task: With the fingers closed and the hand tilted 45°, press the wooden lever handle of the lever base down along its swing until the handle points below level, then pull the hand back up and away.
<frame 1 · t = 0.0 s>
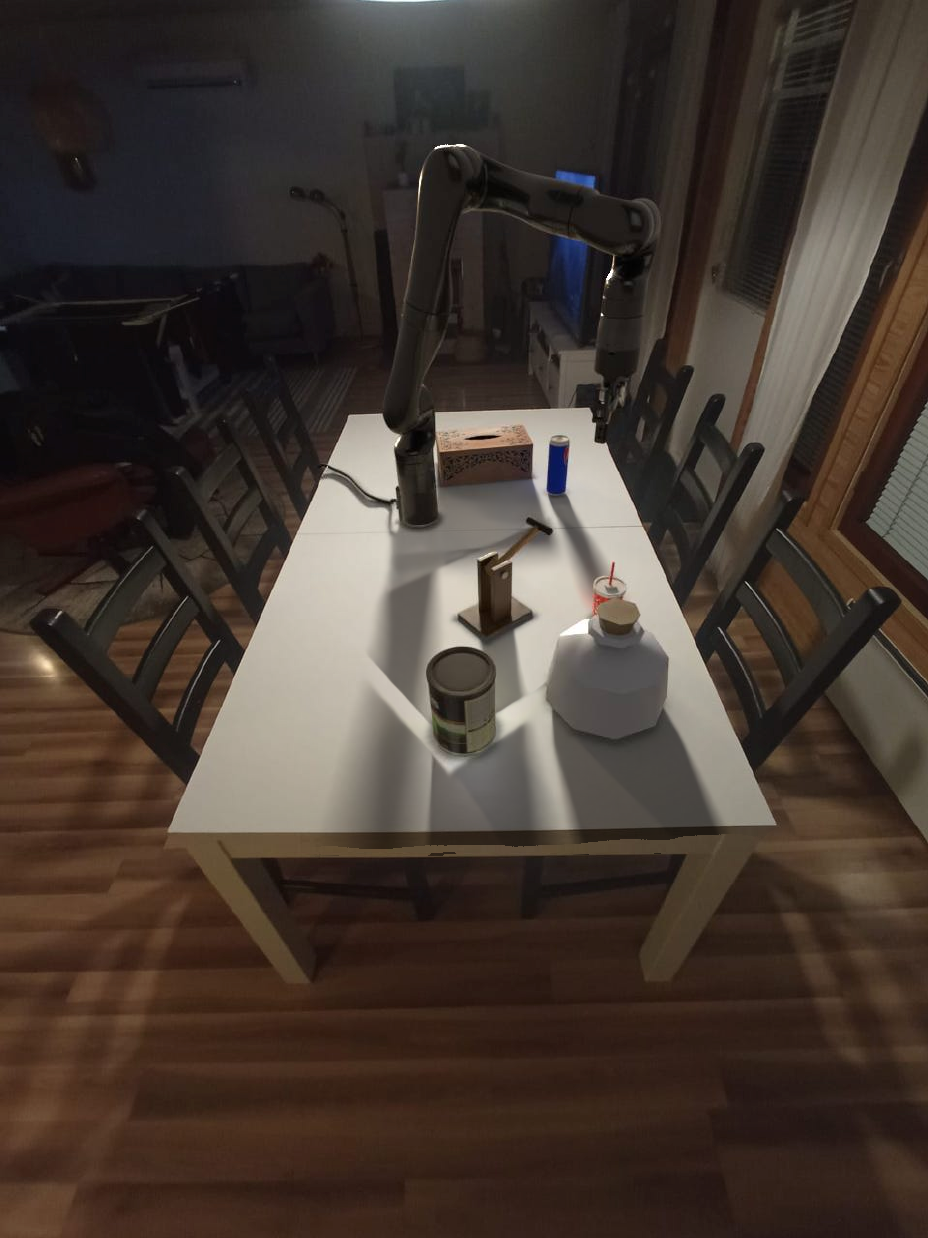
hand: (607, 434, 107), 29 cm above the table, tool pointing down, fingers open, 8 cm apart
beverage can: (555, 492, 152), on the table
tissue box cover: (483, 471, 164), on the table
beverage cup: (604, 622, 110), on the table
bottle: (604, 697, 95), on the table
lever base: (495, 617, 112), on the table
coffee can: (464, 731, 91), on the table
wooden lever handle: (515, 548, 105), point 14 cm above the table, hinge at 24.0°
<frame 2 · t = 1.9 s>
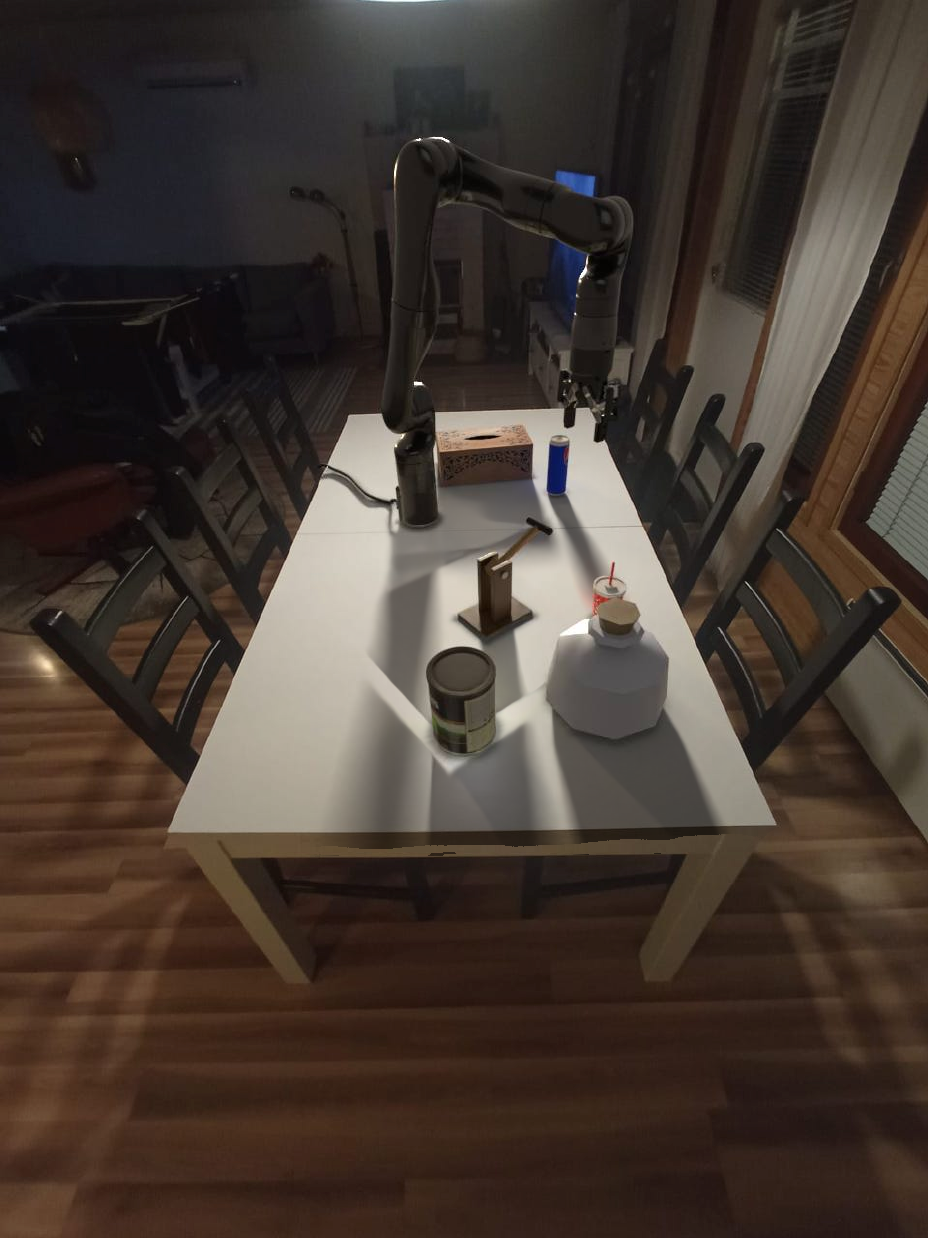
hand: (583, 434, 106), 30 cm above the table, tool pointing down, fingers open, 8 cm apart
nothing on the table moved.
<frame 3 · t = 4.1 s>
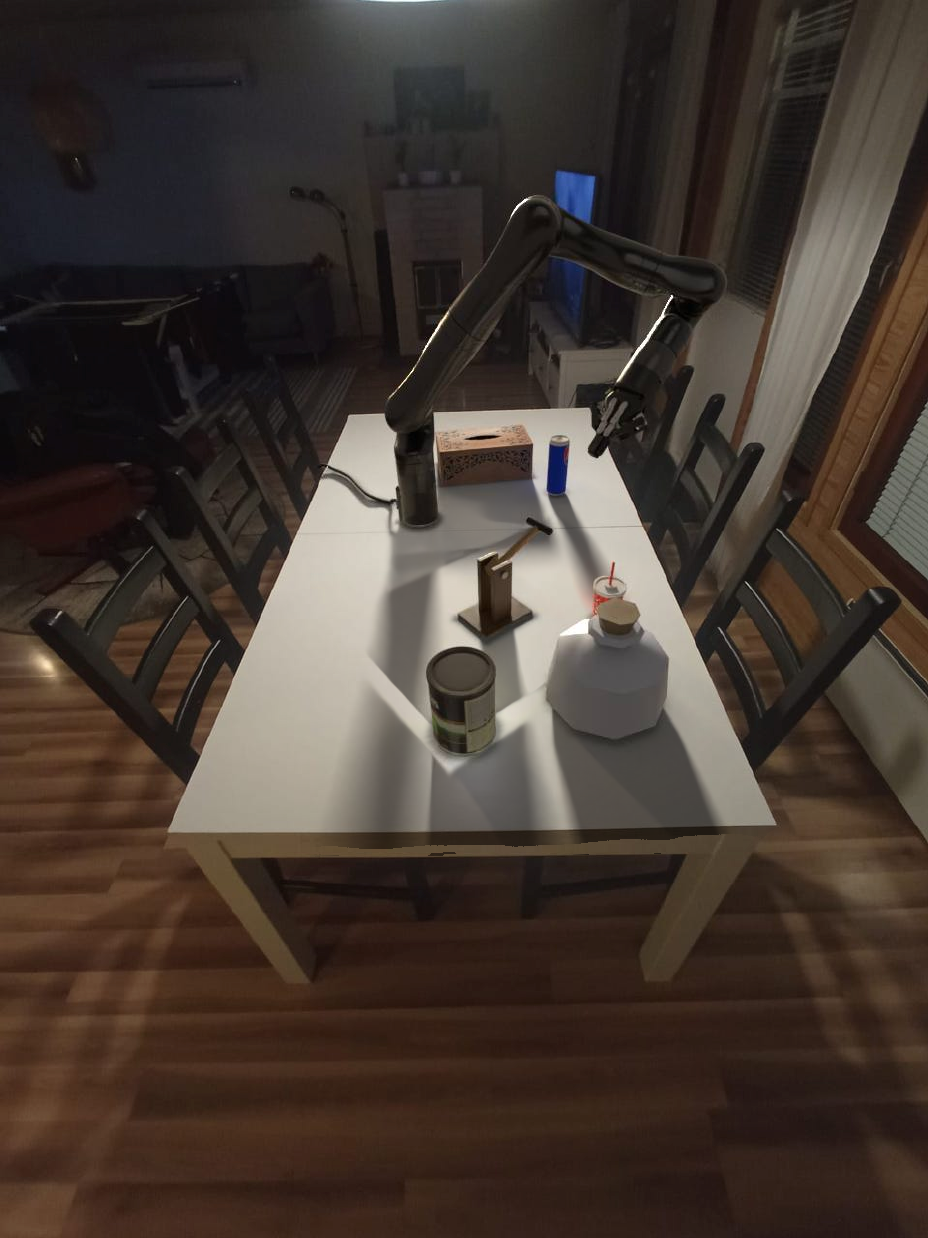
hand: (592, 455, 105), 27 cm above the table, tool tilted 45°, fingers closed
nothing on the table moved.
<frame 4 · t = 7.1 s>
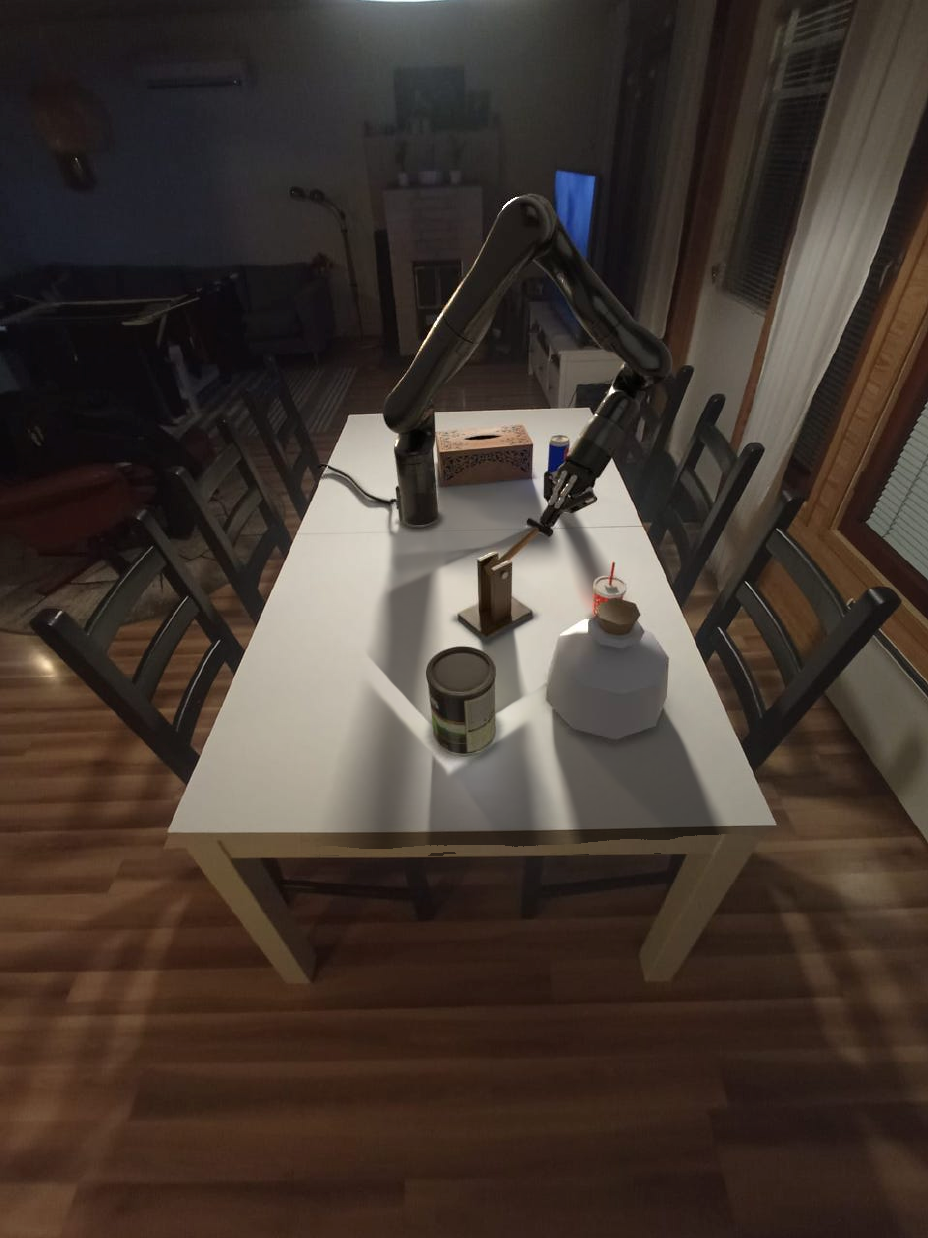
hand: (544, 525, 107), 16 cm above the table, tool tilted 45°, fingers closed
wooden lever handle: (516, 548, 105), point 14 cm above the table, hinge at 22.3°, touching gripper
everything else where it was.
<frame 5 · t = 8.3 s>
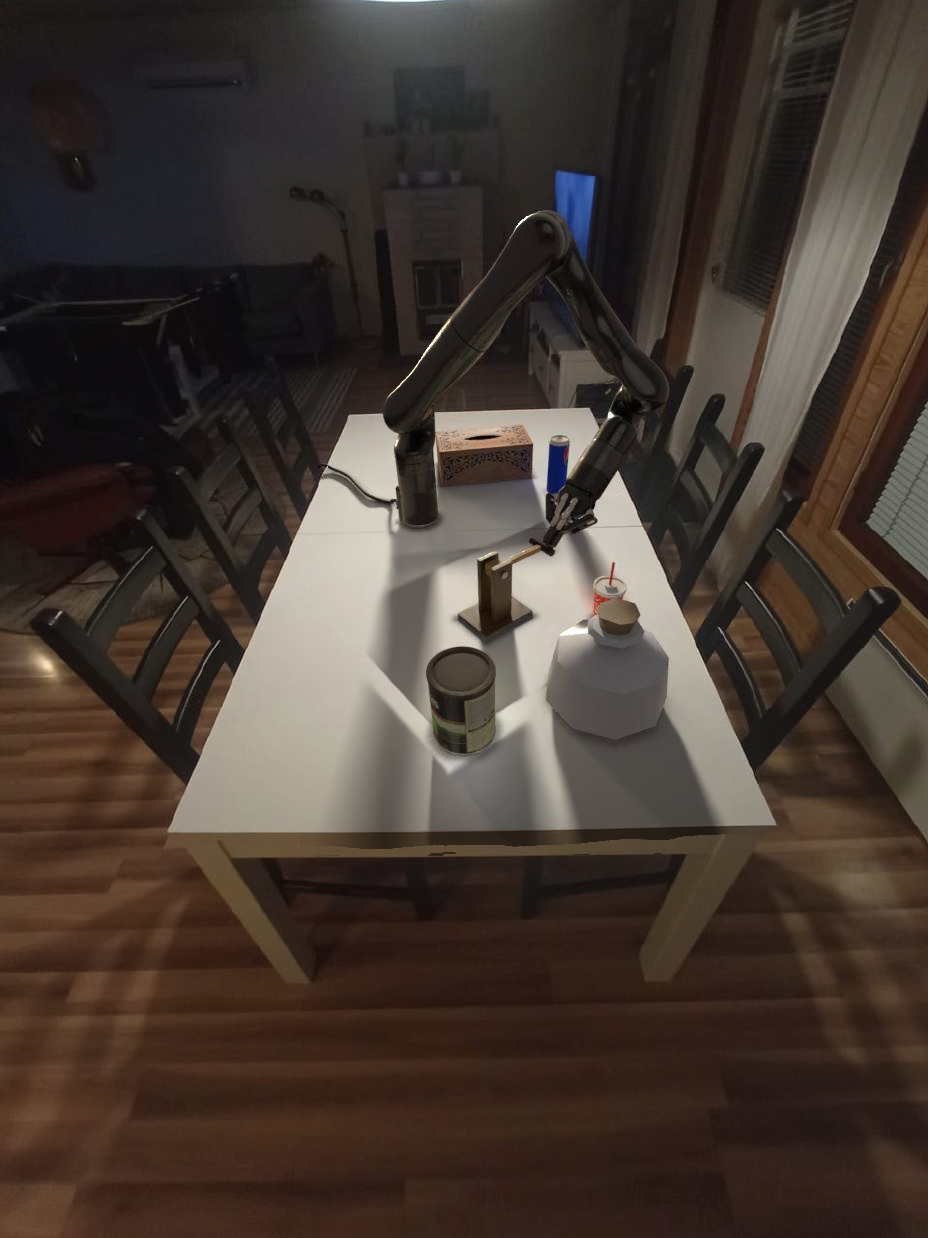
hand: (546, 546, 111), 11 cm above the table, tool tilted 45°, fingers closed
wooden lever handle: (517, 557, 107), point 12 cm above the table, hinge at -1.1°, touching gripper
everything else where it was.
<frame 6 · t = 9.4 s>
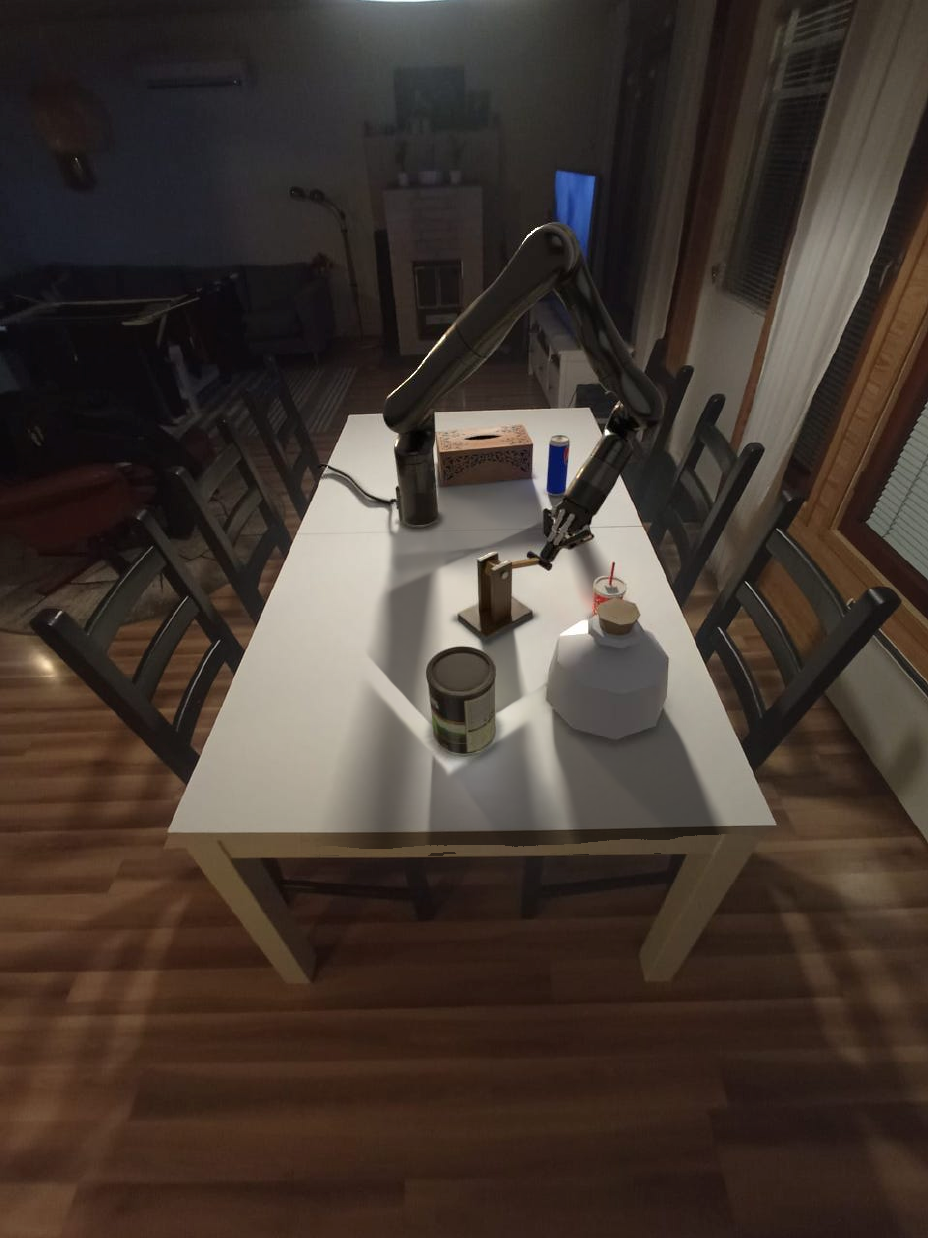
hand: (544, 561, 113), 8 cm above the table, tool tilted 45°, fingers closed
wooden lever handle: (516, 564, 108), point 10 cm above the table, hinge at -16.1°, touching gripper
everything else where it was.
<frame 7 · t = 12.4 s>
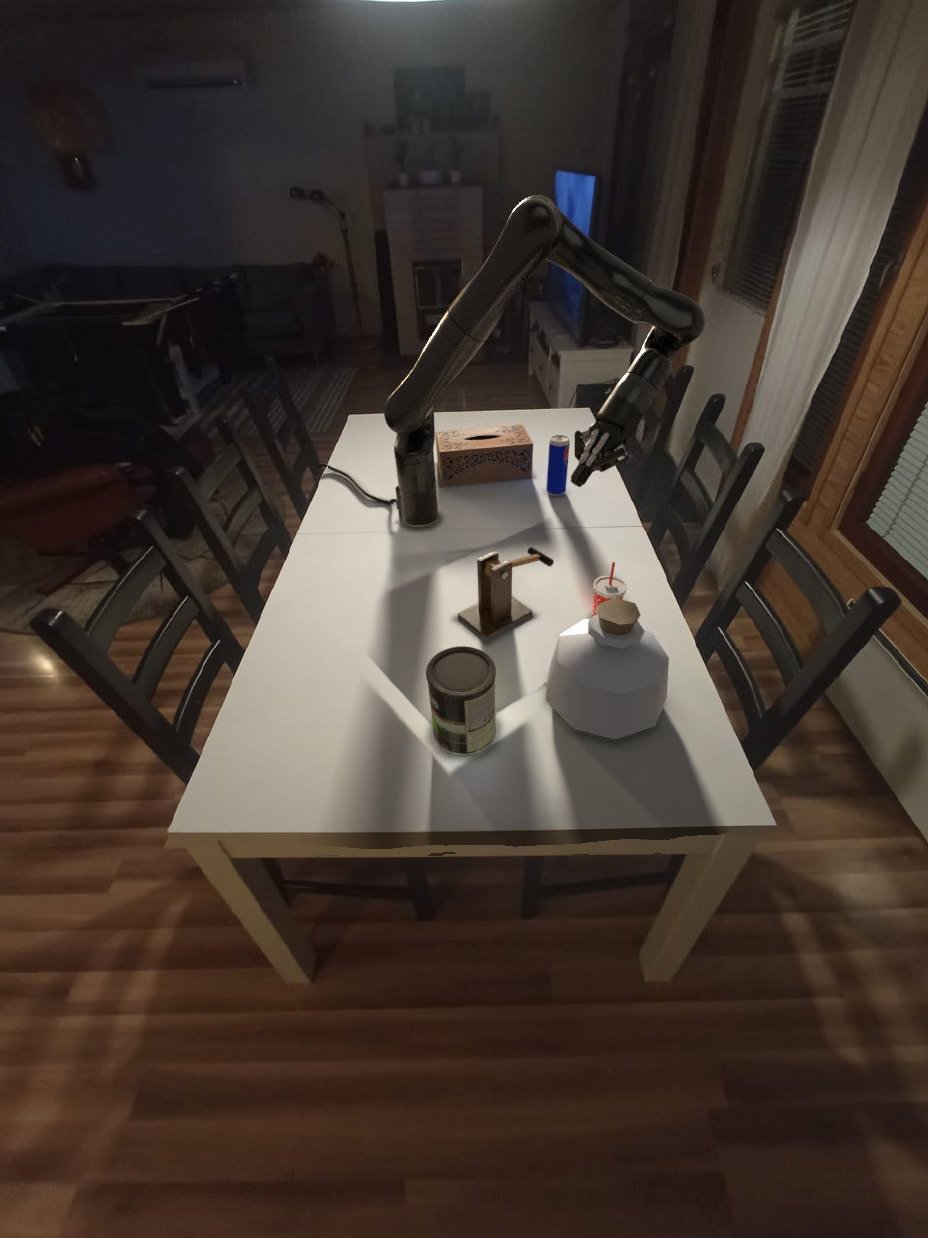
hand: (575, 484, 109), 22 cm above the table, tool tilted 45°, fingers closed
wooden lever handle: (517, 562, 108), point 11 cm above the table, hinge at -11.7°
everything else where it was.
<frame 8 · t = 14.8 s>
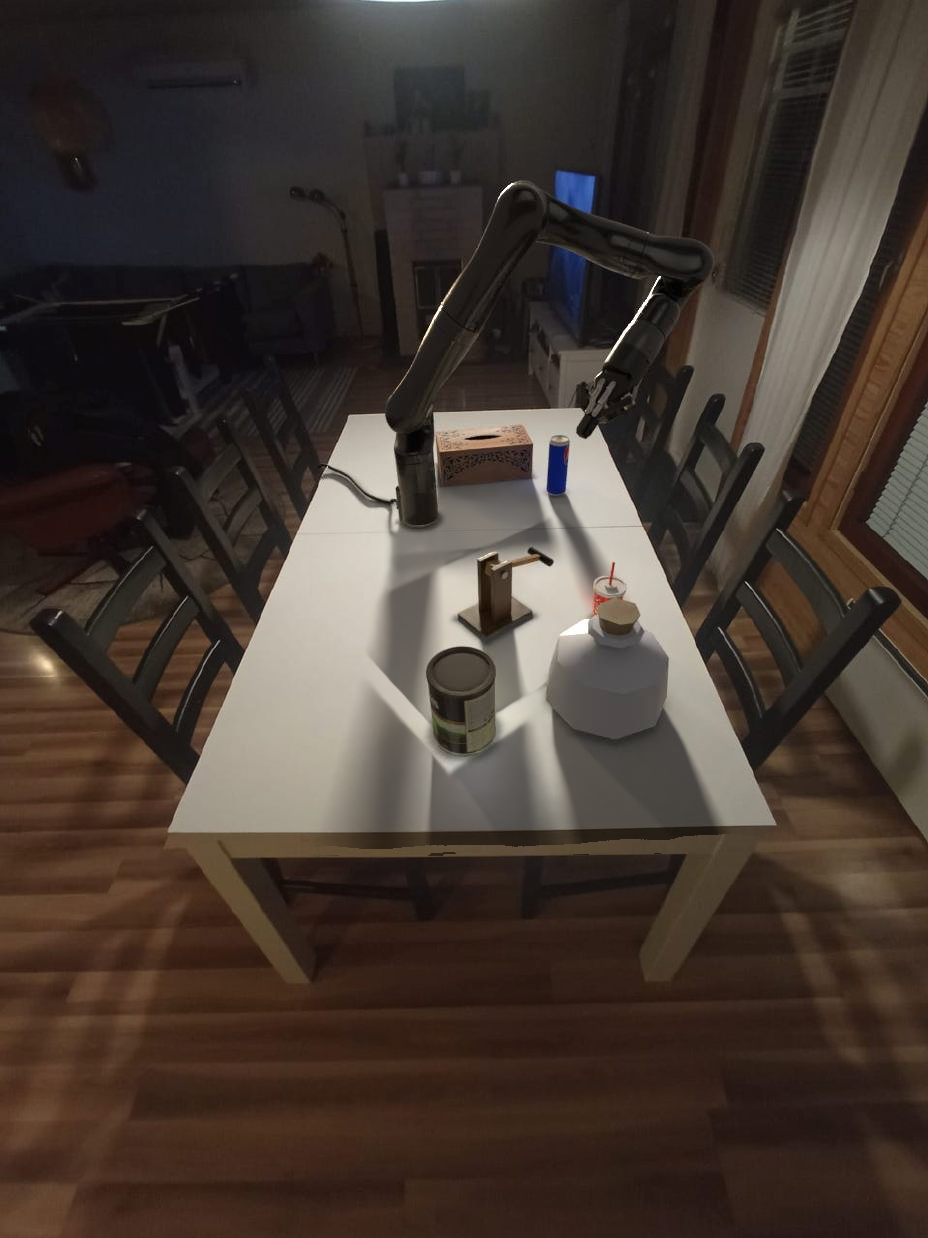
hand: (580, 435, 106), 30 cm above the table, tool tilted 45°, fingers closed
nothing on the table moved.
at the end: wooden lever handle at -12° (first picture: +24°) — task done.
